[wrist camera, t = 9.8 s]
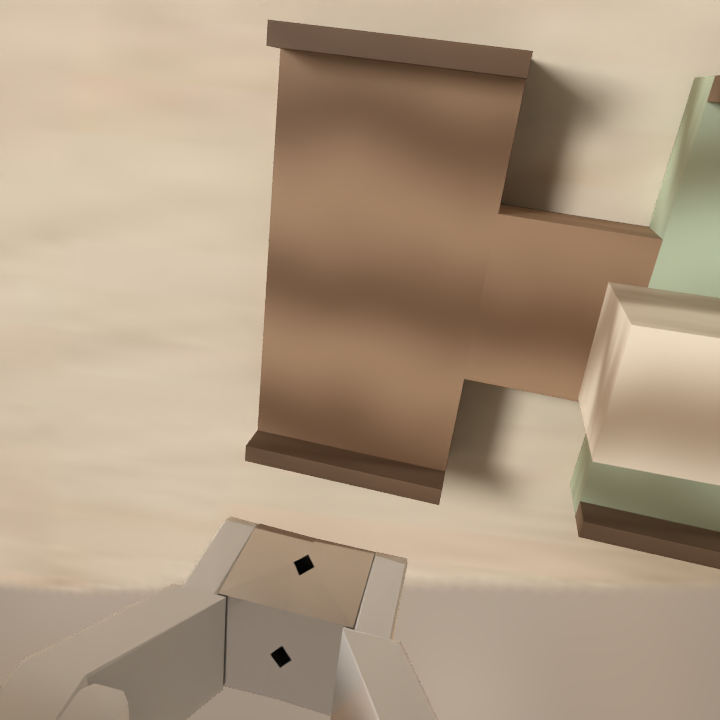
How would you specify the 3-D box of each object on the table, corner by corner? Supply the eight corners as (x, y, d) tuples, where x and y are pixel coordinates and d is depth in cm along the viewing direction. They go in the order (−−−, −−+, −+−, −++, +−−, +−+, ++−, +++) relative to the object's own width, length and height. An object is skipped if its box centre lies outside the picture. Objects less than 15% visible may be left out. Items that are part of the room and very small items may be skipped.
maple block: (608, 281, 24) (631, 324, 19) (749, 302, 23) (807, 351, 19) (578, 398, 26) (592, 461, 22) (706, 420, 25) (749, 491, 21)
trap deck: (302, 30, 25) (267, 19, 22) (905, 103, 22) (983, 104, 18) (274, 420, 33) (245, 460, 29) (723, 517, 29) (753, 576, 26)
